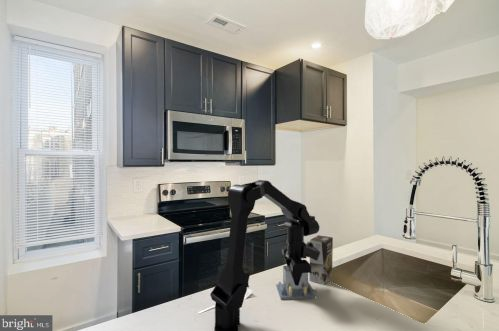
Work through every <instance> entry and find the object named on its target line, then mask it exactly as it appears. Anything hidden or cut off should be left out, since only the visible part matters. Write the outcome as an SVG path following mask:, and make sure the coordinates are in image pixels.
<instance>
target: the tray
mask: <svg viewBox="0 0 499 331" xmlns="http://www.w3.org/2000/svg"><path fill="white" fill-rule="evenodd" d="M275 286H276V290H277V291H278V292H277V293H278V296H279V298H280V300H305V299H307V300H308V299H309V300H310V299H314V300H315V299H316V298H317V296H316V295H315V292H314V289H313V286H311V284H310V282H309V281H308V288H307V286H304V288H292V286H289V288H285V286H284V284H283V283H282V282H281V281H278V283H277V284H276V285H275Z"/></svg>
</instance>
